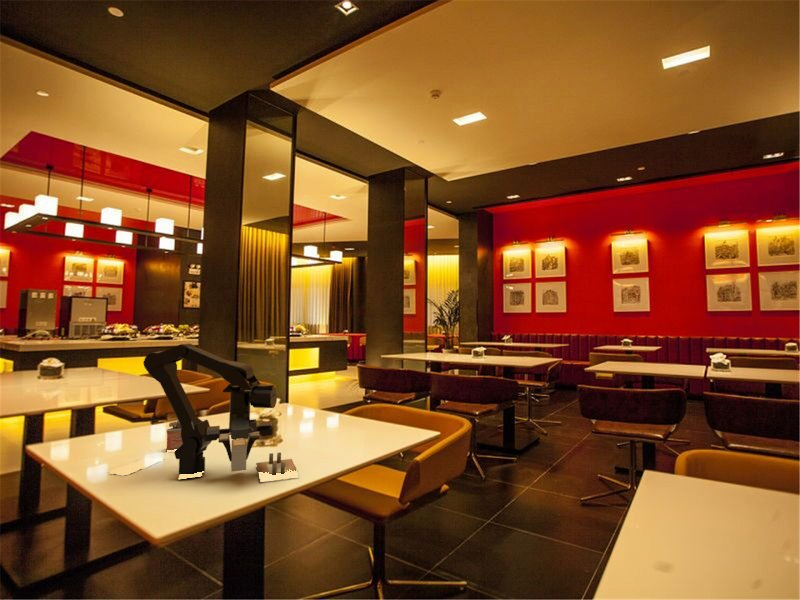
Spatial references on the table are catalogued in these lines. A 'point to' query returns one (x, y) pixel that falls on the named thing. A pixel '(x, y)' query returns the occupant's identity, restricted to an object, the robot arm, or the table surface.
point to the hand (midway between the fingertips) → (238, 460)
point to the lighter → (174, 436)
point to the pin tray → (276, 465)
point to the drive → (238, 455)
